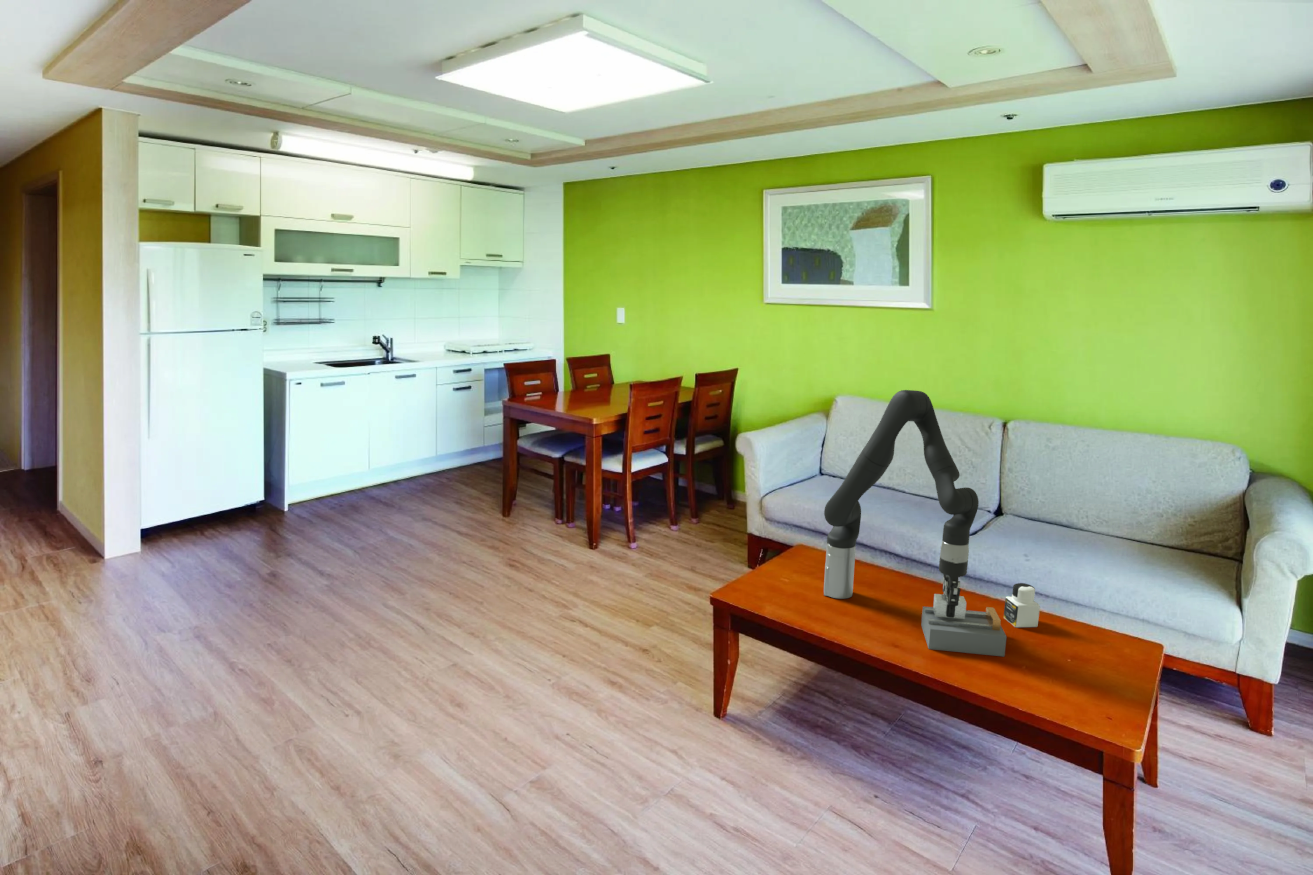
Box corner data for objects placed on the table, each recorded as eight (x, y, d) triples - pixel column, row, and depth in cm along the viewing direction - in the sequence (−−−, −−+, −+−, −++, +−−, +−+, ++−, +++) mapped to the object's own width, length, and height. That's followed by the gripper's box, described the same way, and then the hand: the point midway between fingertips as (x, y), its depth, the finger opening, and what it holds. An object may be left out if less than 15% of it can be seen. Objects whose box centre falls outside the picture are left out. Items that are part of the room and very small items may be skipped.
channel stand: (928, 648, 217) (931, 618, 215) (921, 624, 233) (923, 596, 231) (1004, 656, 213) (1007, 626, 212) (991, 631, 229) (994, 603, 227)
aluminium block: (935, 616, 221) (936, 599, 220) (932, 609, 225) (934, 593, 224) (964, 618, 219) (966, 602, 218) (961, 612, 224) (963, 596, 223)
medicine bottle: (1002, 617, 239) (1006, 581, 236) (1024, 617, 239) (1029, 580, 237) (1015, 627, 232) (1019, 590, 229) (1038, 627, 232) (1042, 589, 230)
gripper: (936, 547, 226) (931, 602, 230) (944, 564, 213) (938, 622, 216) (963, 549, 225) (958, 604, 228) (972, 566, 211) (967, 624, 215)
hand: (948, 612), depth 222 cm, fingers closed on aluminium block, 4 cm apart
